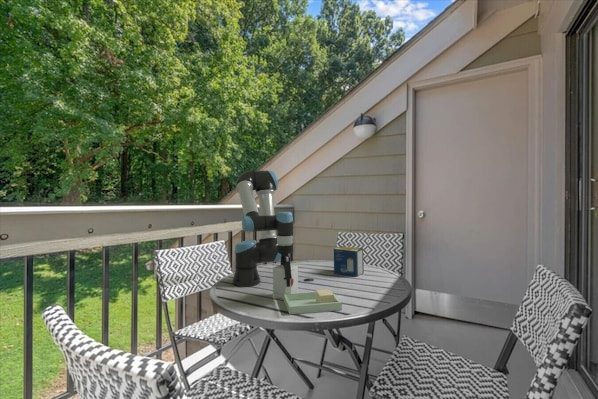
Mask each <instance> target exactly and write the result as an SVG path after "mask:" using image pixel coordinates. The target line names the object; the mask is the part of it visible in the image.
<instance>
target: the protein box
mask: <svg viewBox="0 0 598 399" xmlns="http://www.w3.org/2000/svg"><path fill="white" fill-rule="evenodd" d="M364 270H365V269H364V248H362V247H353V246H343V245H342V246H338V247H334V248H333V274H335V275H341V276H347V277H352V278H354V277H355V278H357V277H359V276H361V275H363V274H364Z"/></svg>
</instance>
